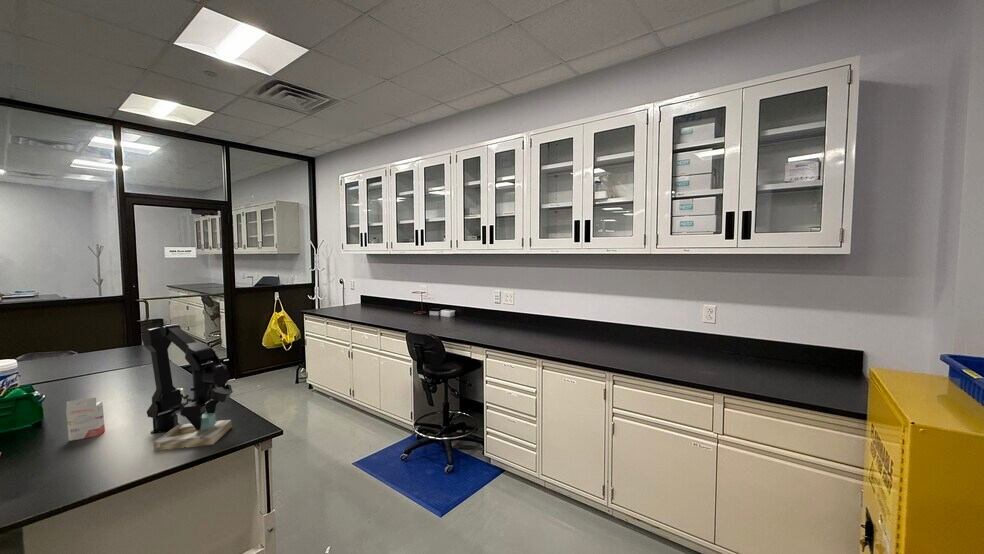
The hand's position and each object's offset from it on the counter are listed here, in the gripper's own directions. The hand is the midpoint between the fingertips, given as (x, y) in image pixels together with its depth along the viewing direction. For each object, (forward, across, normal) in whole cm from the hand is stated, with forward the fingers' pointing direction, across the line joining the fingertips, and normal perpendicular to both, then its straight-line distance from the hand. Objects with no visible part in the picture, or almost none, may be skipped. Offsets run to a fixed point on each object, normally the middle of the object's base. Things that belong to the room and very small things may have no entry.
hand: (205, 424), depth 139 cm
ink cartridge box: (+5, +13, +46) cm, 48 cm away
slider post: (+4, 0, 0) cm, 4 cm away
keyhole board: (+5, 0, +4) cm, 6 cm away
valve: (+5, +39, +28) cm, 48 cm away
